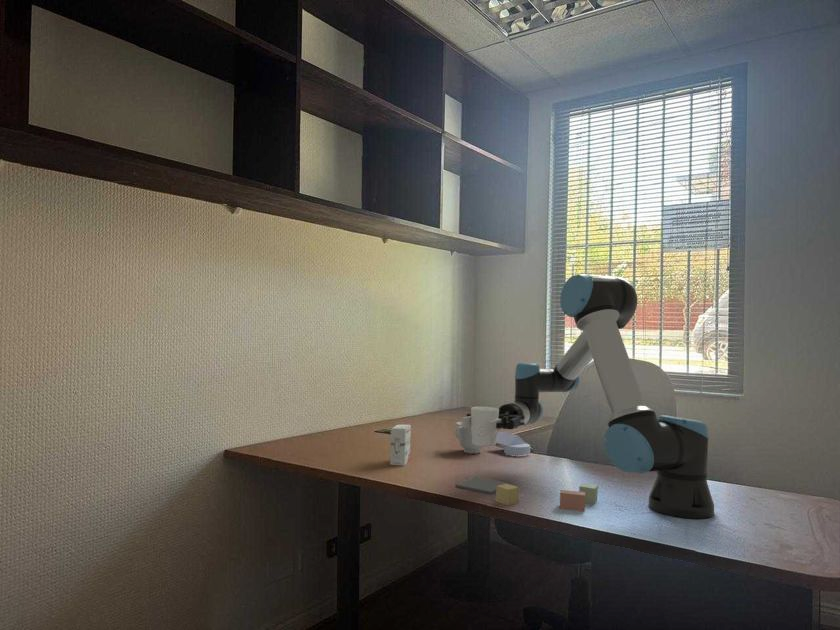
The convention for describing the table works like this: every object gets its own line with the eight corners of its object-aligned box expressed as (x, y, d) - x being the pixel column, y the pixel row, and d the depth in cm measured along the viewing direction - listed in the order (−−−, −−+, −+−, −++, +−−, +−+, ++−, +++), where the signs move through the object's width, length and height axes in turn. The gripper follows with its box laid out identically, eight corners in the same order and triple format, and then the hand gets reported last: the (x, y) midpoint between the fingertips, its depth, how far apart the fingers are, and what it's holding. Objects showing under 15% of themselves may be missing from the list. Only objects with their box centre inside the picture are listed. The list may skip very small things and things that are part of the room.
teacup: (442, 452, 208) (443, 423, 209) (469, 446, 219) (470, 419, 219) (469, 458, 200) (470, 428, 200) (495, 452, 211) (496, 424, 211)
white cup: (465, 441, 168) (466, 406, 168) (489, 440, 171) (490, 406, 171) (477, 447, 161) (479, 410, 161) (503, 446, 164) (504, 410, 164)
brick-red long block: (584, 508, 149) (584, 492, 149) (584, 511, 146) (585, 495, 146) (559, 505, 150) (560, 489, 150) (559, 509, 147) (560, 492, 147)
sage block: (597, 500, 156) (597, 485, 156) (594, 504, 152) (595, 488, 152) (581, 497, 157) (582, 482, 157) (579, 501, 154) (579, 486, 154)
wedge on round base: (490, 451, 213) (517, 458, 203) (491, 432, 213) (518, 438, 203) (508, 448, 219) (535, 455, 209) (508, 430, 219) (535, 435, 209)
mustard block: (518, 502, 151) (518, 487, 151) (507, 505, 149) (508, 489, 149) (506, 499, 154) (506, 483, 154) (496, 501, 152) (496, 486, 152)
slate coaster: (509, 485, 167) (509, 483, 167) (491, 494, 158) (491, 491, 158) (475, 478, 173) (475, 476, 173) (455, 486, 164) (455, 484, 164)
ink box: (396, 459, 196) (397, 423, 196) (410, 460, 195) (411, 424, 195) (389, 465, 187) (390, 427, 187) (404, 466, 186) (405, 428, 186)
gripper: (543, 432, 175) (509, 443, 156) (482, 423, 187) (444, 433, 168) (544, 406, 175) (510, 415, 156) (483, 399, 187) (444, 407, 168)
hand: (476, 424), depth 162 cm, fingers closed on white cup, 7 cm apart
